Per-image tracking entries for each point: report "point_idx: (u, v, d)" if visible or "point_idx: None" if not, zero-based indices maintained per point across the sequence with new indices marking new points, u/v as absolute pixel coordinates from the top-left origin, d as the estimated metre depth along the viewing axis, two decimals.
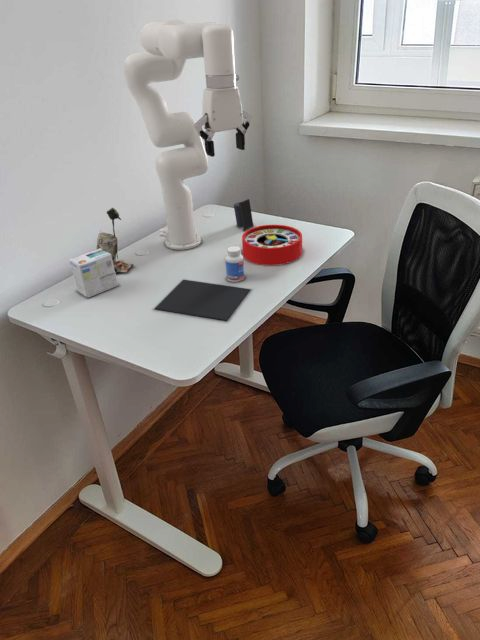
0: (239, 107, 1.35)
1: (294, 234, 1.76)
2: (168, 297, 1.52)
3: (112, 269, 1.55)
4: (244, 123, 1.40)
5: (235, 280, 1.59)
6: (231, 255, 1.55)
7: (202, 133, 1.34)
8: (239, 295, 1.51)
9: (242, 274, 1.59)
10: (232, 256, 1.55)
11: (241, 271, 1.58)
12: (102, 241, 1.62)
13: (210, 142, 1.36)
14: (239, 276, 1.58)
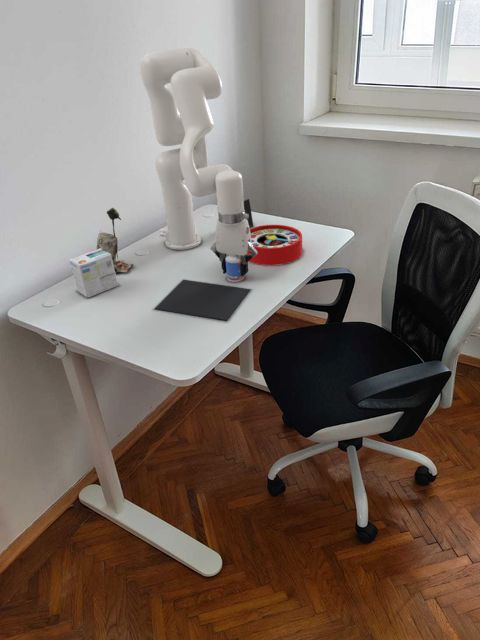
0: (242, 240, 1.50)
1: (294, 234, 1.76)
2: (168, 297, 1.52)
3: (112, 269, 1.55)
4: None
5: (235, 280, 1.59)
6: (231, 255, 1.55)
7: (216, 253, 1.57)
8: (239, 295, 1.51)
9: None
10: (232, 256, 1.55)
11: None
12: (102, 241, 1.62)
13: None
14: (239, 276, 1.58)
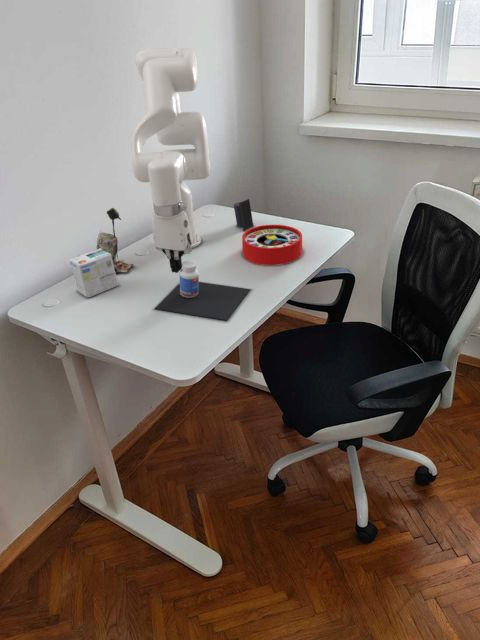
0: (179, 234, 1.39)
1: (294, 234, 1.76)
2: (168, 297, 1.52)
3: (112, 269, 1.55)
4: None
5: (188, 296, 1.50)
6: (186, 270, 1.46)
7: (163, 250, 1.46)
8: (239, 295, 1.51)
9: (196, 290, 1.50)
10: (187, 272, 1.46)
11: (195, 287, 1.49)
12: (102, 241, 1.62)
13: None
14: (192, 292, 1.50)
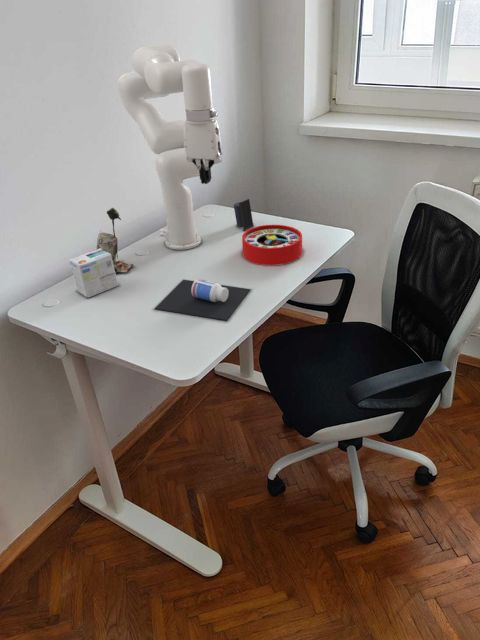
0: (211, 141, 1.43)
1: (294, 234, 1.76)
2: (168, 297, 1.52)
3: (112, 269, 1.55)
4: None
5: (193, 295, 1.49)
6: (217, 297, 1.46)
7: (193, 161, 1.50)
8: (239, 295, 1.51)
9: None
10: (216, 297, 1.46)
11: None
12: (102, 241, 1.62)
13: None
14: None
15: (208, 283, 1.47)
